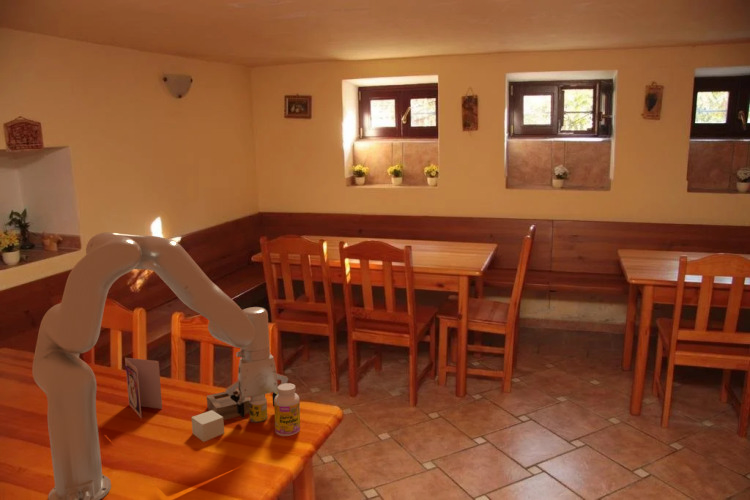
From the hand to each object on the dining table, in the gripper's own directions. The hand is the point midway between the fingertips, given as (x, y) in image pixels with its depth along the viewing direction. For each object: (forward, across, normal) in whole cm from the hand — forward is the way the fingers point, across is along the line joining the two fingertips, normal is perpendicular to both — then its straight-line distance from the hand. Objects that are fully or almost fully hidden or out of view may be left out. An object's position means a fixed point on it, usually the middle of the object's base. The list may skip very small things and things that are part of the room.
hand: (259, 411), depth 165 cm
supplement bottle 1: (+3, 0, 0) cm, 3 cm away
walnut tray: (+3, -6, +9) cm, 11 cm away
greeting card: (+3, -27, +23) cm, 36 cm away
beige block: (+3, -14, -1) cm, 15 cm away
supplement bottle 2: (+3, +5, -10) cm, 12 cm away
